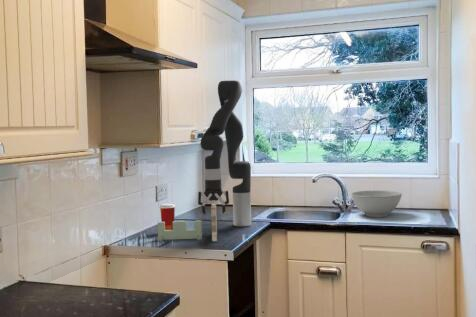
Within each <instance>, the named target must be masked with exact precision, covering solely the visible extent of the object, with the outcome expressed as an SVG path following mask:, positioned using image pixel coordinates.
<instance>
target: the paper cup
mask: <svg viewBox="0 0 476 317" xmlns="http://www.w3.org/2000/svg"><path fill="white" fill-rule="evenodd" d="M159 209H160V220H161V221H160V222H165V230H173V221H175V220H176V218H175V216H176V215H175V214H176V212H175V211H176V205H175V203H170V202H169V203H161V204H160V205H159Z"/></svg>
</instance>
